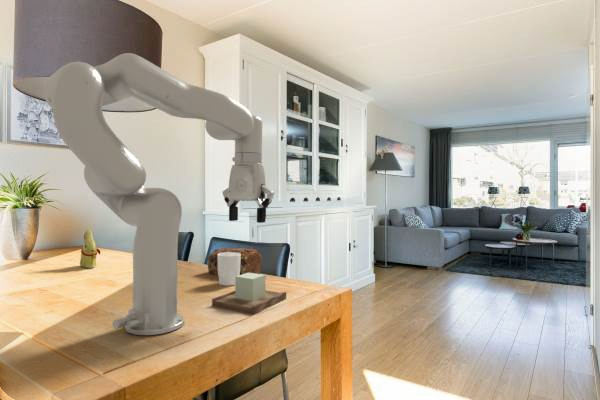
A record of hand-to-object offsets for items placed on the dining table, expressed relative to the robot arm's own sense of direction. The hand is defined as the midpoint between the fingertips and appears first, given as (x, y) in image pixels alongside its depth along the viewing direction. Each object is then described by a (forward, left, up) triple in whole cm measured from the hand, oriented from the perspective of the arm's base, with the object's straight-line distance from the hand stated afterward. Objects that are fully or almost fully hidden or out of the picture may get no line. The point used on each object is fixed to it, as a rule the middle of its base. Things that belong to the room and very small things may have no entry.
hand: (246, 221), depth 104 cm
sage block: (0, -1, -21) cm, 21 cm away
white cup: (+14, +18, -23) cm, 32 cm away
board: (0, -1, -23) cm, 23 cm away
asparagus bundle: (+7, +83, -23) cm, 86 cm away
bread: (+27, +25, -23) cm, 44 cm away
